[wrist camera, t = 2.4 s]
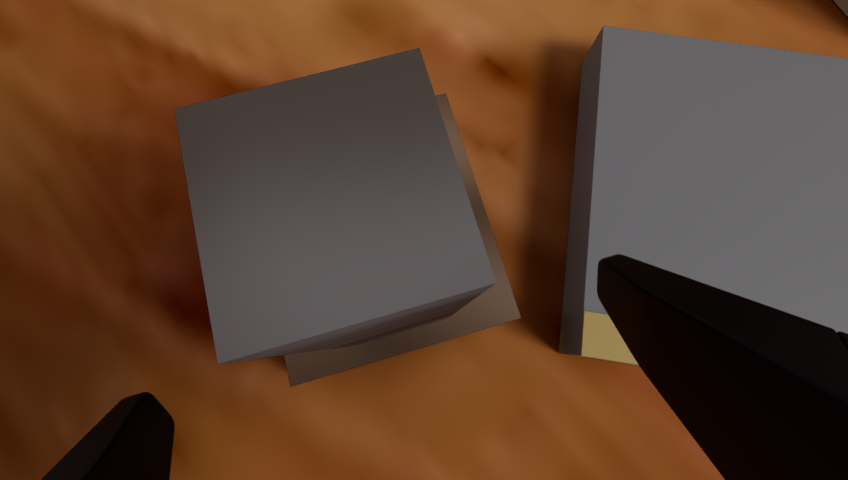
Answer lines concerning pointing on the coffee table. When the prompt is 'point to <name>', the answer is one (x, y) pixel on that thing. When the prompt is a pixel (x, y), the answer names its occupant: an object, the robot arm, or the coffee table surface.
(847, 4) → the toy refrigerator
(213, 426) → the coffee table surface
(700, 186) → the dock
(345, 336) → the grey column with base
